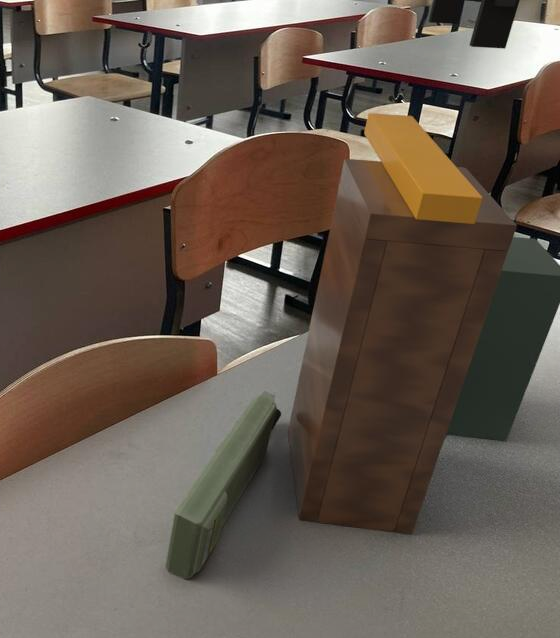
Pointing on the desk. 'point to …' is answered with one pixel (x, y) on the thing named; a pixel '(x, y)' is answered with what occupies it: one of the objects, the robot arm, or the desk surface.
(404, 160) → the orange rectangular bar
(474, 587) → the desk surface
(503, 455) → the desk surface
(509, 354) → the pedestal
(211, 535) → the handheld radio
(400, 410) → the tall wooden panelled box
